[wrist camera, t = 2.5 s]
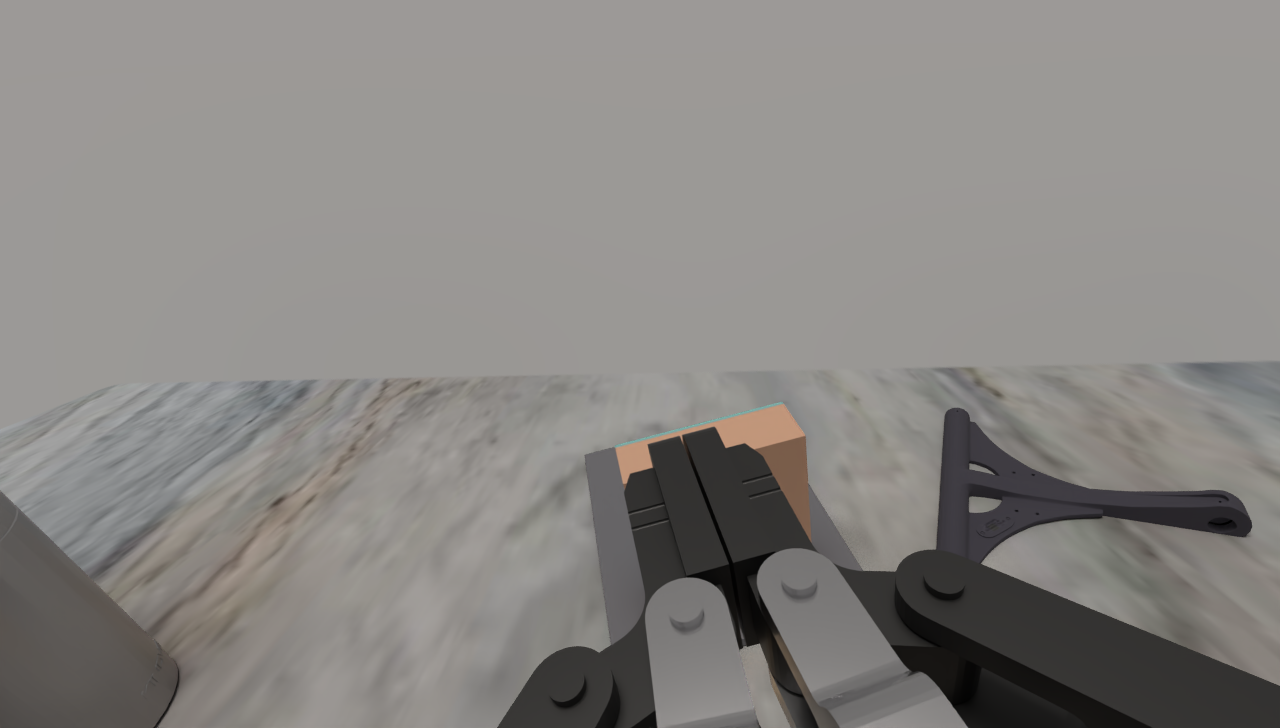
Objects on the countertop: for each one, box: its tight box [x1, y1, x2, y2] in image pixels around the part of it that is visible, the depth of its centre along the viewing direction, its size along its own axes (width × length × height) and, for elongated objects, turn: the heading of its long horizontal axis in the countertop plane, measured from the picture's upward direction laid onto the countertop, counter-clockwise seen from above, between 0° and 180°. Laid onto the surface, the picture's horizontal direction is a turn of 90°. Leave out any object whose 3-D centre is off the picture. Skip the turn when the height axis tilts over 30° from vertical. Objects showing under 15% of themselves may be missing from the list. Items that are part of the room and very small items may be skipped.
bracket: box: [936, 408, 1252, 564], centre depth 35 cm, size 14×15×3 cm
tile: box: [615, 402, 811, 541], centre depth 32 cm, size 9×3×11 cm, turn 100°
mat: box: [585, 447, 863, 646], centre depth 40 cm, size 15×19×1 cm
